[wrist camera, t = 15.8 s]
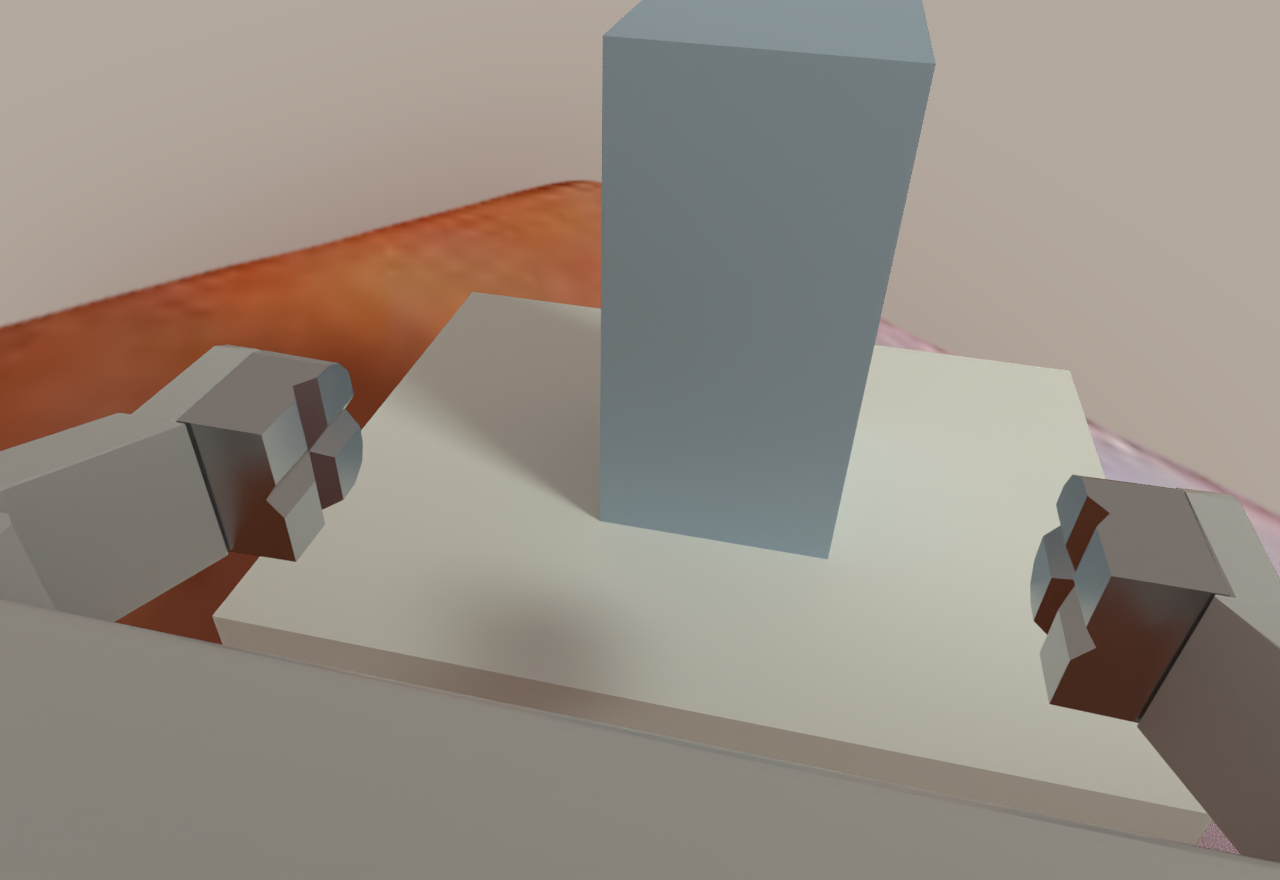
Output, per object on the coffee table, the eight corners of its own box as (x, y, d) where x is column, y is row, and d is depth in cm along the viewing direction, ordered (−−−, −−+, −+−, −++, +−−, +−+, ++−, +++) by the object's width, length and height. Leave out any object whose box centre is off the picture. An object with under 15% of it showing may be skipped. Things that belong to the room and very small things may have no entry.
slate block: (836, 426, 23) (921, -1, 17) (827, 559, 19) (936, 63, 13) (645, 398, 24) (663, -20, 18) (599, 520, 20) (603, 35, 14)
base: (1011, 527, 29) (1069, 370, 26) (1093, 980, 18) (1217, 815, 14) (485, 443, 32) (472, 291, 28) (277, 792, 21) (211, 616, 17)
